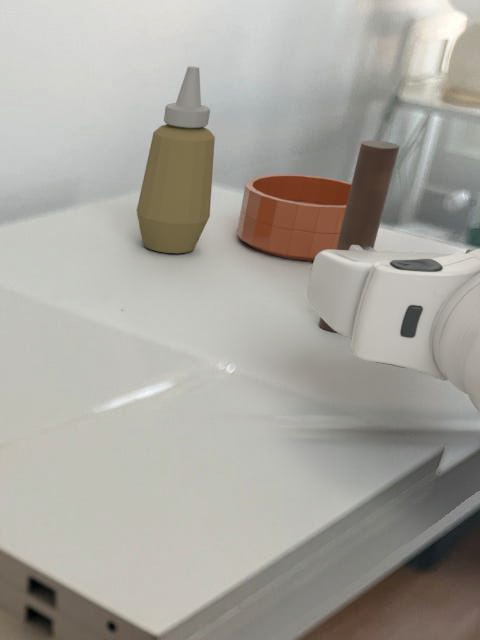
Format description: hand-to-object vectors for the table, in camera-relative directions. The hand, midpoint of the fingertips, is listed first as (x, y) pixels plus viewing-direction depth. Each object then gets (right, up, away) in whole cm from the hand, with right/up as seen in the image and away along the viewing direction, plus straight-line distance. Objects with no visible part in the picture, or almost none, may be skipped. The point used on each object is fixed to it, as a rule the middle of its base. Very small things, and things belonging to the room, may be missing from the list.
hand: (414, 257), depth 82 cm
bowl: (+2, +16, +38) cm, 41 cm away
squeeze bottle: (-14, +14, +35) cm, 40 cm away
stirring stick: (-1, -1, +16) cm, 16 cm away
